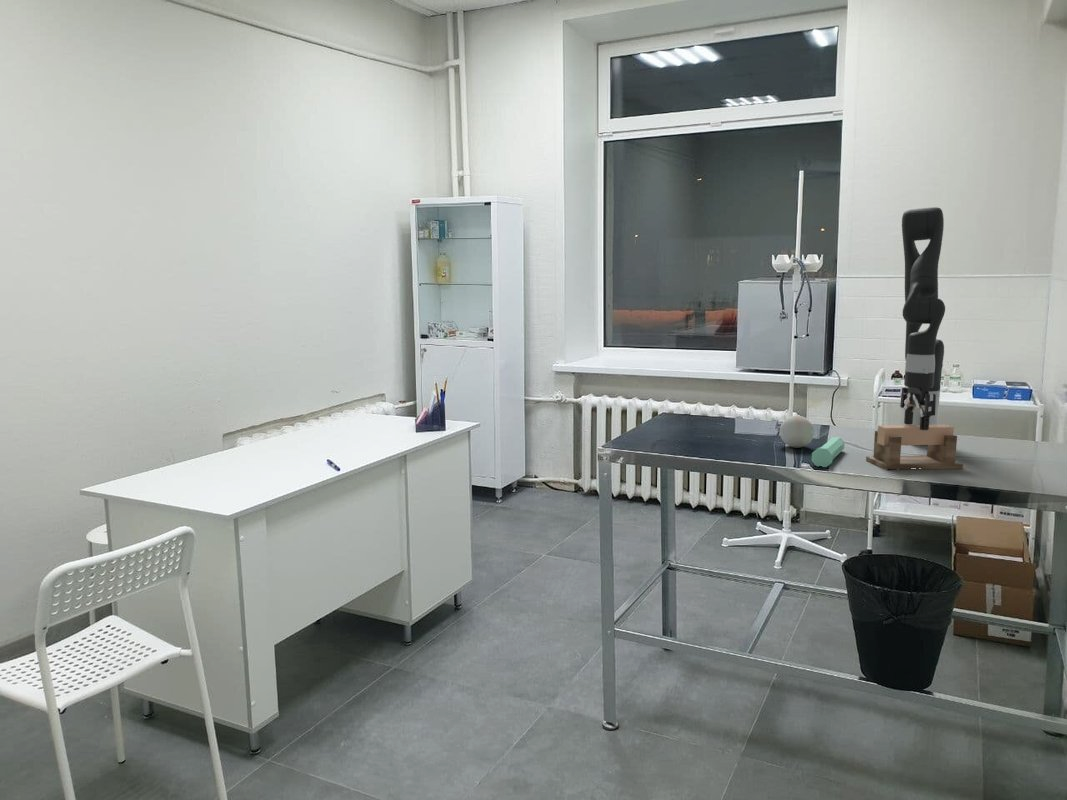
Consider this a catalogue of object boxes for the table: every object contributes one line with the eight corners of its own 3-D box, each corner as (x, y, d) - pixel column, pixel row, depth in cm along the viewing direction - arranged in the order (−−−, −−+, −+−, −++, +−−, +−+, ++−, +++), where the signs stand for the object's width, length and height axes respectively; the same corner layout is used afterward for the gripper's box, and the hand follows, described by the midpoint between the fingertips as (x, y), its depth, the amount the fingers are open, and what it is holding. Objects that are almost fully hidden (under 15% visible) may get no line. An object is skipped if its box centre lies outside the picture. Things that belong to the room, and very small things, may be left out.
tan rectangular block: (877, 442, 238) (878, 425, 237) (944, 441, 240) (945, 424, 239) (883, 445, 234) (884, 428, 234) (952, 444, 236) (953, 427, 235)
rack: (866, 460, 243) (867, 430, 242) (938, 459, 244) (941, 428, 243) (886, 470, 231) (888, 438, 230) (962, 468, 233) (965, 436, 231)
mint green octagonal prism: (832, 430, 257) (816, 443, 236) (850, 439, 255) (836, 453, 233) (824, 447, 259) (807, 462, 237) (842, 456, 257) (827, 472, 235)
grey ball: (815, 451, 256) (816, 419, 254) (780, 449, 258) (781, 418, 256) (811, 444, 266) (812, 413, 264) (777, 443, 268) (779, 412, 266)
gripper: (894, 367, 240) (890, 422, 243) (920, 373, 226) (916, 432, 229) (919, 367, 241) (915, 422, 243) (947, 373, 227) (942, 431, 229)
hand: (916, 427), depth 236 cm, fingers open, 8 cm apart
